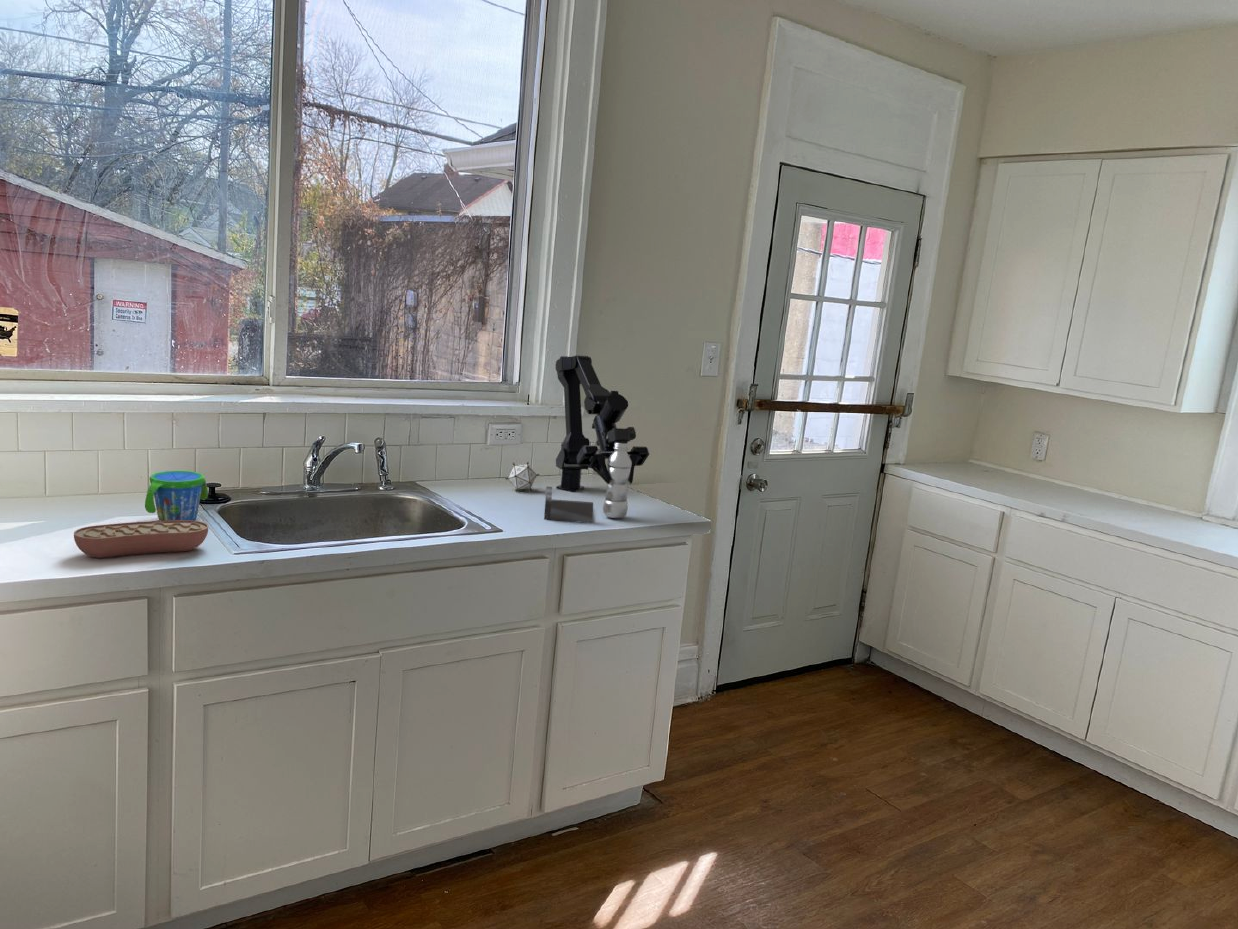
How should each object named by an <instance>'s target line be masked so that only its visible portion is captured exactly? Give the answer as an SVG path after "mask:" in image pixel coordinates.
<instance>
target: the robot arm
mask: <svg viewBox="0 0 1238 929" xmlns="http://www.w3.org/2000/svg"><path fill="white" fill-rule="evenodd" d="M592 363H593V361H592V358H591V356H588V355H580V354H579V355H577V354H576V355H573V356H568V355H561V356H559V358H558V359H557V360H556V361H555V371H556V373H557V379H558V381H559V382H560V384H561V386H562V387H563V398H564V416H565V434H566V435H565V437H564V439H563V440H562V442H561V445H560V446H561V447H560V448H561V449H560V450H559V453H558V454H557V457H556V458H555V468H558V469H560V470H561V478H560V484H559V485H557V486H556V489H558V490H565V491H569V492H571V491H572V492H579V491H581V490H584V489H585V486H583V485H581V481H582V470H587V471H588V469H592V470H593V471H594V472H596V474H597V475H598V476H600V477H601V479H602V480H603V481H604V482H605V483H606V484H609V483H610V477H609V474H608V469H607V463H606V460H608V459H609V457H610V455H611V454H612V453H613V452H614V450H615V449H613V448H614V442H615V441H618V442H621V441H624V442H628V443H629V442H631V441H633V440H635V439H636V437H637V435H636V434H637V433H636V429H635V427H634V426H628V427H627V428H620V427H619V428H617V424H616V423H618V422H620V421H621V419H622V417H623V416H624V414H625V412H626V411H627V409H628V407H629V401H628V400H627V399H626V398H625V397H624V396H623V395H621V394H620V393H619V391H618V390H611V391H610V390H608V389H607V388H605V387H603V386H602V384H601V382H600V379H599V378H598V376H597V373H596V371H595V368H594V366H593V364H592ZM581 387H582V388H583V389H582V390H583V392H584V394H585V398H584V401H583V403H584V410H585V411H586V413H587V414H588V415H594V418H593V420H592V422H593V423H592V424H591V429H594V430H595V433H596V438H597V441H596V442H595V443H596V444H595V445H590V439H589V438H588V437H586V436H585V435H584V433H583V420H582V418H583V417H582V400H581V399H582V398H581ZM598 447H599V448H598ZM627 453H628V455H629V456H630V458H631V461H632V465H631V470H630V474H629V479H628V484H630V485H631V484H633V482H634V481H633V480H634V472H635V467H637V466H638V467H640V466H643V465H644V464H645V462H646V460H647V459H648V457H649V456H650V450H649V448H648V447H647V446H641V445H640V446H639V445H638V446H637V445H636V446H635V445H634V446H632V448H631V449H630V450H629V451H627Z"/></svg>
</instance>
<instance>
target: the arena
mask: <svg viewBox="0 0 1238 929" xmlns="http://www.w3.org/2000/svg"><path fill="white" fill-rule="evenodd" d="M545 489H546V490H545V501H544V515H543V516H544V517H543V519H544V520H545V519H547V521H548V520H550V521H559V522H560V521H561V522H573V521H580V522H579V523H587V522H589V523H588V524H590V523H592V520H593V511H594V510H593V509H594V502H592V501H581V500H569V499H568V500H567V499H566V500H565V499H552V496H553V486H546V488H545Z"/></svg>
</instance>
